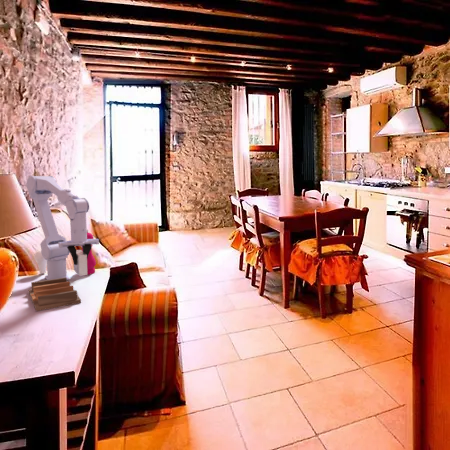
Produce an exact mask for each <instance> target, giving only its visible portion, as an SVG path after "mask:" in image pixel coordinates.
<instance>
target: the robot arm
mask: <svg viewBox="0 0 450 450" xmlns="http://www.w3.org/2000/svg"><path fill="white" fill-rule="evenodd" d="M25 186H26V190H27V192H28V195H29V198H31V199H32V201H33V203H34V207H35V211H36V213H37V216H38V219H39V223H40V225H41V228H42V229H41V230H42V232H43V235H44V237H45V238H44V239H43V240H42V241H41V242H40V248H41V249H40V250H41V253H42V256H43V258H44V259H45V260H47V267H46V272H47V275H45V276H44V278H45V279H46V280H51V279H58V278H65V277H66V278H67V281H69V280H70V278H69V276H68V275H67V273H68V272H67V271H68V270H67V259H68V256H69V255H70V256H71V258H72V263H73V266H74V265H77V260H76V250H78V249H77V248H76V247H81V246H82V247H83V252H84V253H85V254H87V258H88V255H89V252H90V250H91V248H93V246H91V245H99V244H100V239H99V238H94V239H87V230H88V229H87V213H88V212H89V210H90V203H89V201H88V200H87V199H86V198H85V197H82V198H81V197H79V196H78V195H76V194H75V193H73V192H72V190H71V189H70V188H65V189H64V188H63V187H62V186H61V185H60V184H59V183H58V182H57V178H56V177H54V176H53V175H46V176H45V175H29V176H28V177H27V179H26V184H25ZM53 194H54V196H56V198H57V200H58V202H60V203H61V204H62V205H63V206H65V209H66V213H67V214H68V218H69V221H70V222H69V223H70V240H67V239H66V237H65V236H62V235H61V234H59V231H58V229H57V226H56V222H55V220H54V216H53V214H52V210H51V207H50V204H49V201H48V199H49V198H52V195H53ZM82 247H81V248H82Z"/></svg>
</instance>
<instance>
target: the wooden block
mask: <svg viewBox="0 0 450 450" xmlns="http://www.w3.org/2000/svg"><path fill="white" fill-rule="evenodd" d="M76 260H77V265H74V264H73V270H74V272H75V273H76V274H77V276H79V277H80V276H86V275H87V254H85V253H84V252H83V251H82V249H77V250H76ZM87 276H88V275H87Z"/></svg>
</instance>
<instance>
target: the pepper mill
mask: <svg viewBox="0 0 450 450" xmlns="http://www.w3.org/2000/svg"><path fill="white" fill-rule="evenodd" d="M87 239H95V238H94V235H93V234H92V233H90V232H89V229H87ZM93 245H94V244H92V245H91V246H92V248H93ZM80 247H81V250H82V251H83V247H82V246H80ZM92 248H91V250H90V252H89V255H88V258H87V276H88V275H93V274H95V273H96V267H95V266H96V264H97V261H96V258H95V256H94V255H93V252H92Z"/></svg>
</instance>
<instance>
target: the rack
mask: <svg viewBox="0 0 450 450" xmlns="http://www.w3.org/2000/svg"><path fill="white" fill-rule="evenodd" d="M30 283H31V284H30V285H31V289H28V295H29V297H30V299H31V301H32V304H33V307H34V310H35V312H40V311H44V310H49V309H54V308H55V309H56V308H60V307H61V308H62V307H65V306H72V305H76V304H81V303H82V302H81V301H82V300H81V298H80V297H79V295H78V291H77V290H74V285H71V282H70V281H69V280H67V278H66V277H65V278H58V279H51V280H47V279H46V280H39V281H32V282H30Z"/></svg>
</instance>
